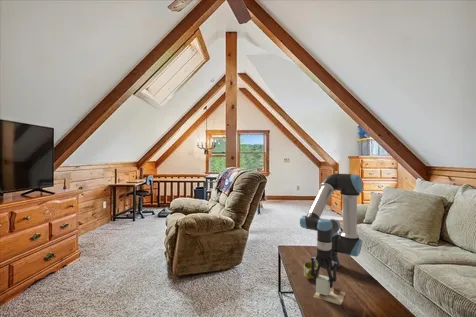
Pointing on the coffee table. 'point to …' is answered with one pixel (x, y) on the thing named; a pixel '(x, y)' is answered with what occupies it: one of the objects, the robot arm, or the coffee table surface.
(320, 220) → the robot arm
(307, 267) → the mug
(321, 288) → the pale green block
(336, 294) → the board
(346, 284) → the coffee table surface
